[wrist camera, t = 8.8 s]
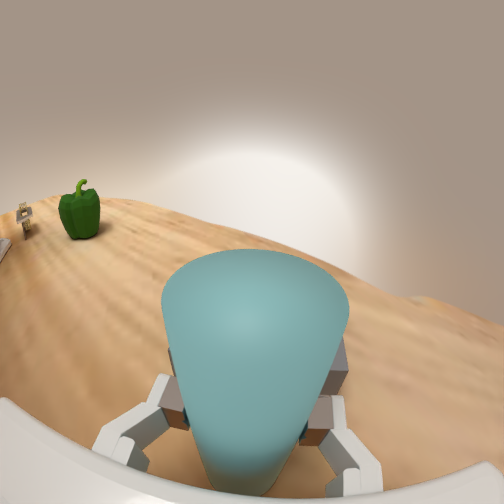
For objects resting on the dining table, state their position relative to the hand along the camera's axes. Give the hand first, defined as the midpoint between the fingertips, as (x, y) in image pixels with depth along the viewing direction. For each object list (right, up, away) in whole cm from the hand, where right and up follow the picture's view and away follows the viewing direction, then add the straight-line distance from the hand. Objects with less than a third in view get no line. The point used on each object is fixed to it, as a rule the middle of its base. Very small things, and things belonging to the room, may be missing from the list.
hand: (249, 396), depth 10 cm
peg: (-1, -8, +3) cm, 9 cm away
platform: (-48, +9, +34) cm, 59 cm away
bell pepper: (-31, +9, +34) cm, 47 cm away
